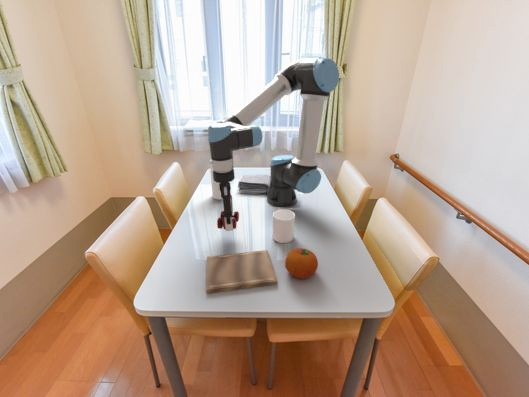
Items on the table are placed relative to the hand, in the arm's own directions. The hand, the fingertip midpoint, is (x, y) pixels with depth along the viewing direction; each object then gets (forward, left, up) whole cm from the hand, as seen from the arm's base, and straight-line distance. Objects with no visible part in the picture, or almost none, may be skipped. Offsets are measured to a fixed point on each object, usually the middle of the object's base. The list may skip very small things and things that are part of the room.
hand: (228, 221), depth 103 cm
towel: (-17, -45, -9) cm, 49 cm away
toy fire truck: (0, 0, -2) cm, 2 cm away
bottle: (+3, -39, -8) cm, 39 cm away
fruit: (-22, +24, -8) cm, 34 cm away
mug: (-22, +2, -8) cm, 23 cm away
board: (-2, +20, -8) cm, 22 cm away
